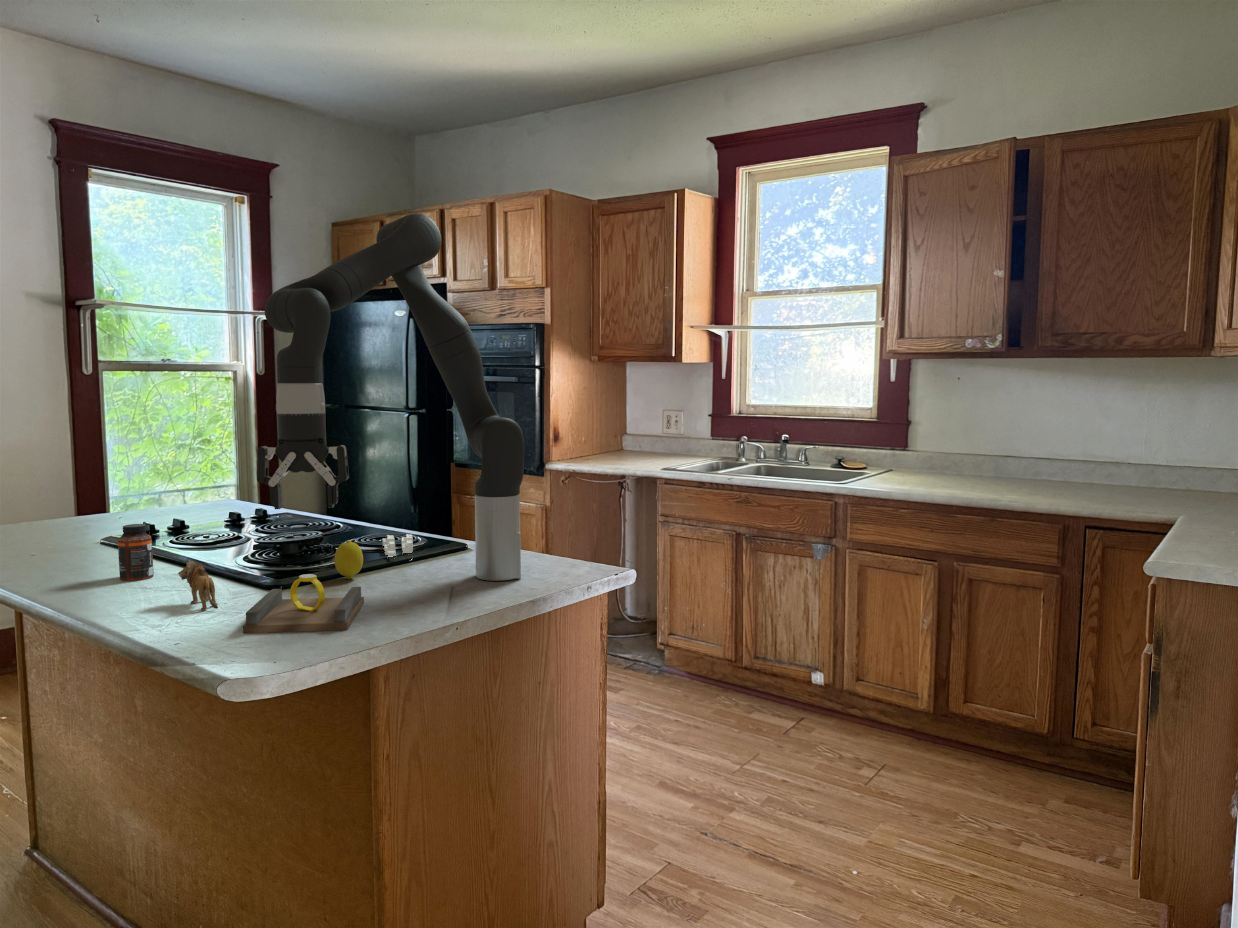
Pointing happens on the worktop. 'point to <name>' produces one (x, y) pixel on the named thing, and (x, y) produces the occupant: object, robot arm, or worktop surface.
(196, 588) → the lion figurine
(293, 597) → the watch
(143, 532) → the supplement bottle
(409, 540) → the modular blocks
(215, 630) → the worktop surface
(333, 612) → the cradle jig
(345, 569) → the lemon
